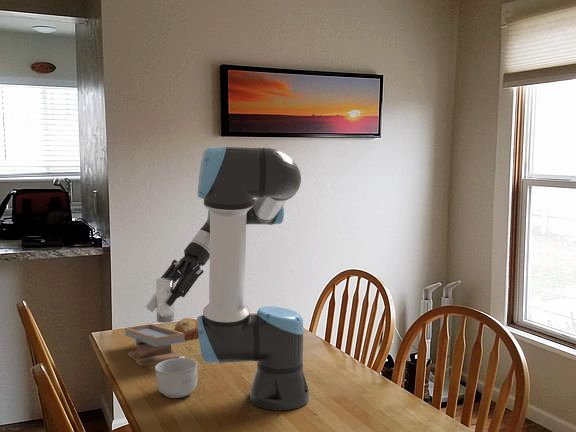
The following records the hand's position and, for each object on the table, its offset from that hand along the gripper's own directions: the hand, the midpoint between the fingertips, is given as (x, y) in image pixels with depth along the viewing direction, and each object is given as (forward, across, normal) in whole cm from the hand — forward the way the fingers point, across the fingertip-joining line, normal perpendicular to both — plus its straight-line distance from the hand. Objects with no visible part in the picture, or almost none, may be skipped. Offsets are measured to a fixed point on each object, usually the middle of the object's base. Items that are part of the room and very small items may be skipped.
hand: (154, 311), depth 173 cm
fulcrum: (+9, +9, -16) cm, 20 cm away
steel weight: (0, 0, -5) cm, 5 cm away
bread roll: (-6, +20, -31) cm, 37 cm away
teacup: (+15, -18, -10) cm, 25 cm away
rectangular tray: (+4, +9, -12) cm, 15 cm away
